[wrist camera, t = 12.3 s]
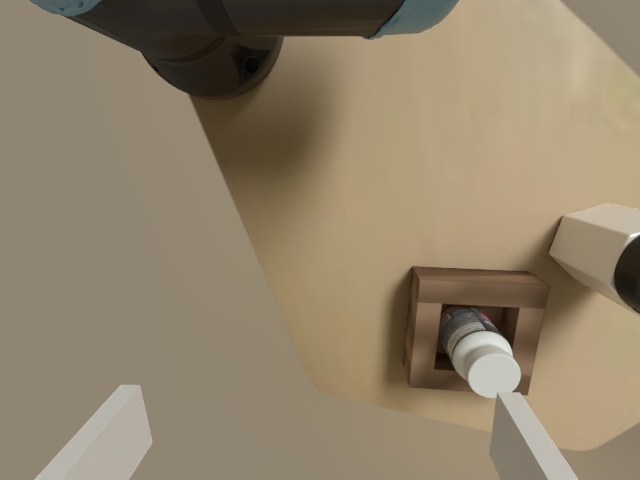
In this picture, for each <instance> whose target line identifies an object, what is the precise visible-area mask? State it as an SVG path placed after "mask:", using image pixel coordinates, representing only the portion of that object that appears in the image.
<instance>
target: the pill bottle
mask: <svg viewBox="0 0 640 480" xmlns="http://www.w3.org/2000/svg"><path fill="white" fill-rule="evenodd" d="M438 334H439V337H440V339H441V341H442V343H443V345H444V347H445V349H446V351H447V353H448V355H449V357H450V359H451V362H452V364H453V366H454V368H455V369H456V371H457V372H458V374H459V375H460V376H461V377H463V378H464V379H465V380H467V382H468V384H469V386H470V387H471V389H472V390H473V391H474V392H476V393H477V394H478V395H480V396H483V397H486V398H496V397H497V392H512V391H513V390H514V389H515V388H516V387H517V386H518V384H519V381H520V378H521V372H520V368H519V366H518V364H517V362H516V361H515V360H514V358H513V354H512V349H511V347H510V345H509V343H508V341H507V340H506V339H505V338H504V337H503V336H502V334H501V333H500V332H499V331H498V330H497V328H496V327H495V326H494V325H493V324H492V323H491V321H490V320H489V319H488V318H487V317H486V315H485V314H484V313H483V312H482V311H481V310H480V309H478V308H477V307H475V306H473V305H459V304H456V305H453V306H451V307H449V308H448V309H446V310H445V311H444V312H443V313H442V314H441V316H440V323H439V331H438Z"/></svg>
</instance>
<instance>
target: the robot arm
mask: <svg viewBox="0 0 640 480" xmlns="http://www.w3.org/2000/svg"><path fill="white" fill-rule="evenodd" d="M30 1H31V2H32V3H34V4H36V5H37V6H39V7H40V8H42V9H44V10H46V11H48V12H50V13H53V14H60V15H62V16H64V17H67V18H69V19H71V20H73V21H75V22H77V23H79V24H82V25H84V26H86V27H88V28H90V29H92V30H95V31H97V32H99V33H101V34H103V35H105V36H108V37H110V38H112V39H114V40H116V41H119V42H121V43H123V44H125V45H127V46H130V47H131V48H134V49H136V50H138V51H140V52H141V53H142V54H143V56H144V58H145V59H146V61H147V62H148V63H149V65H150V66H151V67H152V68H153V69H154V71H156V73H157V74H158V75H159V76H161V77H162V78H163V79H164V80H165V81H167V82H168V83H169V84H171V85H173V86H174V87H176V88H177V89H179V90H181V91H183V92H186V93H189V94H191V95H194V96H197V97H200V98H205V99H213V100H221V99H229V98H233V97H236V96H239V95H242V94H244V93H246V92H247V91H249V90H251V89H252V88H254V87H255V86H256V85H258V84H259V83H260V82H261V81H262V80H263V79H264V78H265V77H266V75H267V74H268V73H269V72H270V70H271V69H272V67H273V65H274V64H275V62H276V60H277V57H278V55H279V53H280V50H281V46H282V43H283V38H284V36H362V37H363V38H364V39H369V40H373V39H374V38H380V37H382V36H383V35H396V34H413V33H420V32H423V31H425V30H427V29H430V28H432V27H433V26H434V25H436V24H438V23H440V22H441V21H442V20H443V19H444V18H445V17H446V16H447V15H448V14H449V13H450V12H451V10H452V9H453V8H454V7H455V5H456V4H457V3H458V1H459V0H30ZM151 444H152V437H151V433H150V429H149V424H148V419H147V415H146V410H145V406H144V401H143V397H142V392H141V388H140V385H120V386H119V387H118V389H117V390H116V391H115V392H114V393H113V394H112V395H111V396H110V397H109V398H108V400H107V401H106V402H105V403H104V404H103V405H102V406H101V407H100V408H99V409H98V410H97V412H96V413H95V414H94V415H93V416H92V417H91V418H90V419H89V420H88V422H87V423H86V424H85V425H84V426H83V427H82V428H81V429H80V430H79V432H77V434H76V435H75V436H74V437H73V438H72V439H71V440H70V441H69V442H68V443H67V444H66V446H65V447H64V448H63V449H62V450H61V451H60V452H59V453H58V454H57V455H56V457H55V458H54V459H53V460H52V461H51V462H50V463H49V464H48V465H47V466H46V468H45V469H44V470H43V471H42V472H41V473H40V474H39V475H38V476H37V477H36V479H35V480H129V479H130V477H131V475H132V474H133V472H134V471H135V469H136V468H137V466H138V465H139V463H140V461H141V460H142V458H143V457H144V455H145V454H146V452H147V450H148V449H149V447H150V446H151ZM489 454H490V456H491V459H492V461H493V463H494V465H495V467H496V470H497V472H498V474H499V476H500V479H501V480H578V478H577V477H576V475H575V474H574V472H573V471H572V469H571V468H570V466H569V465H568V463H567V462H566V460H565V459H564V457H563V456H562V454H561V453H560V451H559V450H558V448H557V447H556V445H555V444H554V442H553V441H552V439H551V438H550V437H549V435H548V434H547V432H546V431H545V429H544V428H543V426H542V425H541V423H540V422H539V420H538V419H537V417H536V416H535V414H534V413H533V411H532V410H531V408H530V407H529V405H528V404H527V402H526V401H525V399H524V398H523V396H522V395H521V393H517V392H497V397H496V405H495V413H494V421H493V429H492V437H491V445H490V453H489Z"/></svg>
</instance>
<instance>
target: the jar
mask: <svg viewBox="0 0 640 480" xmlns="http://www.w3.org/2000/svg"><path fill="white" fill-rule="evenodd" d="M549 255H550V256H551V257H552V258H553V259H554V260H555V261H556V262H557V263H558V264H559V265H560V266H561V267H562V268H563V269H564V270H566V271H567V272H568V273H569V274H570V275H571V276H572V277H573V278H574V279H575V280H577V281H578V282H580V283H582V284H584V285H585V286H587V287H589V288H591V289H592V290H594V291H596V292H598V293H600V294H601V295H603V296H605V297H607V298H608V299H610V300H612V301H614V302H615V303H617V304H619V305H621V306H622V307H624V308H626V309H628V310H629V311H631V312H633V313H635V314H636V315H638V316H640V209H636V208H631V207H626V206H621V205H616V204H611V203H604V204H601V205H597V206H594V207H590V208H587V209H583V210H580V211H577V212H573V213H570V214H566V215H564V216H563V218H562V220H561V223H560V225H559V228H558V231H557V233H556V236H555V238H554V241H553V243H552V246H551V248H550V251H549Z"/></svg>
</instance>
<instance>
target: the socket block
mask: <svg viewBox="0 0 640 480" xmlns="http://www.w3.org/2000/svg"><path fill="white" fill-rule="evenodd" d="M548 291H549V286H548V285H547V284H545V283H544V282H542V281H541V280H539V279H538V278H536V277H535V276H533V275H532V274H530V273H529V272H525V271H503V270H481V269H458V268H436V267H414V266H412V275H411V286H410V296H409V307H408V318H407V328H406V339H405V349H404V360H403V365H404V369H405V373H406V377H407V381H408V384H409V387H413V388H427V389H442V390H456V391H471V392H474V391H473V390H472V389H471V387H470V386H469V384H468V382H467V380H465V379H464V378H463V377H461V376H460V375H459V374H458V372H457V371H456V369H455V368H454V366H453V364H452V362H451V359H450V357H449V355H448V353H447V351H446V349H445V347H444V345H443V343H442V341H441V339H440V337H439V334H438V331H439V323H440V316H441V314H442V313H443V312H444V311H445V310H446V309H448V308H449V307H451V306H453V305H456V304H459V305H473V306H475V307H477V308H478V309H480V310H481V311H482V312H483V313H484V314H485V315H486V317H487V318H488V319H489V320H490V321H491V323H492V324H493V325H494V326H495V327H496V328H497V330H498V331H499V332H500V333H501V334H502V336H503V337H504V338H505V339H506V340H507V341H508V343H509V345H510V347H511V349H512V354H513V358H514V360H515V361H516V362H517V364H518V366H519V368H520V372H521V378H520V381H519V384H518V386H517V387H516V388H515V389H514V390H513V391H512V392H517V393H521V395H528V390H529V385H530V380H531V376H532V371H533V366H534V361H535V356H536V351H537V346H538V341H539V336H540V331H541V326H542V321H543V316H544V311H545V306H546V301H547V296H548Z"/></svg>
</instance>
